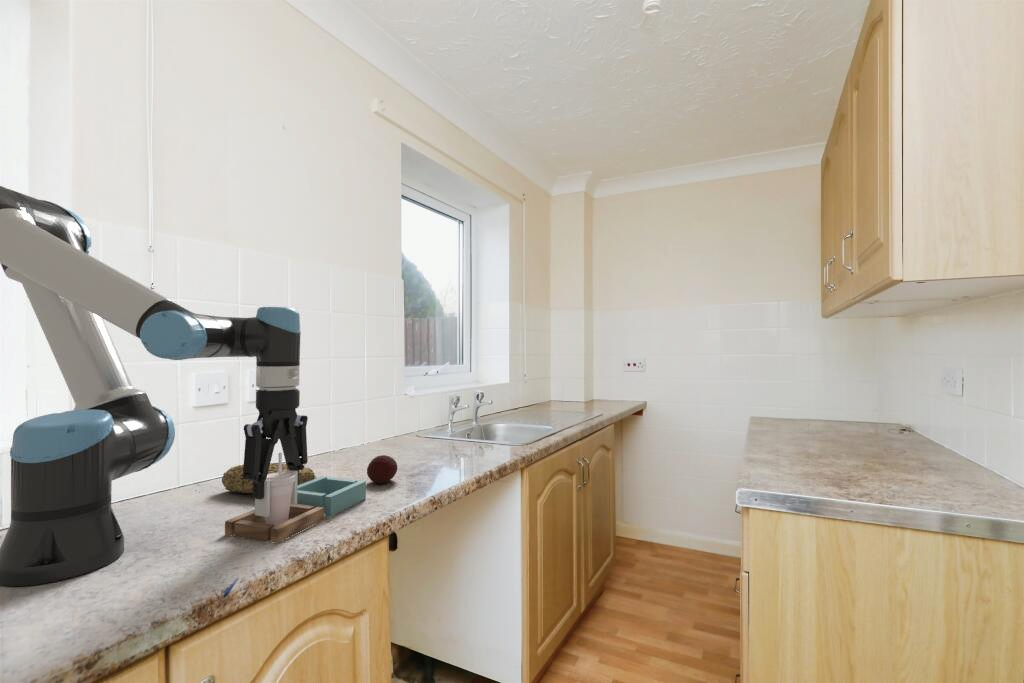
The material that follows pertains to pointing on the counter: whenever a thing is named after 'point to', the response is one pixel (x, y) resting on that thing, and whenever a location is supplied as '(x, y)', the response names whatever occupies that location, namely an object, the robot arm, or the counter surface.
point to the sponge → (238, 484)
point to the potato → (382, 469)
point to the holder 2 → (331, 493)
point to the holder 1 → (254, 529)
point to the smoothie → (280, 495)
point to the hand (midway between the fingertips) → (276, 509)
